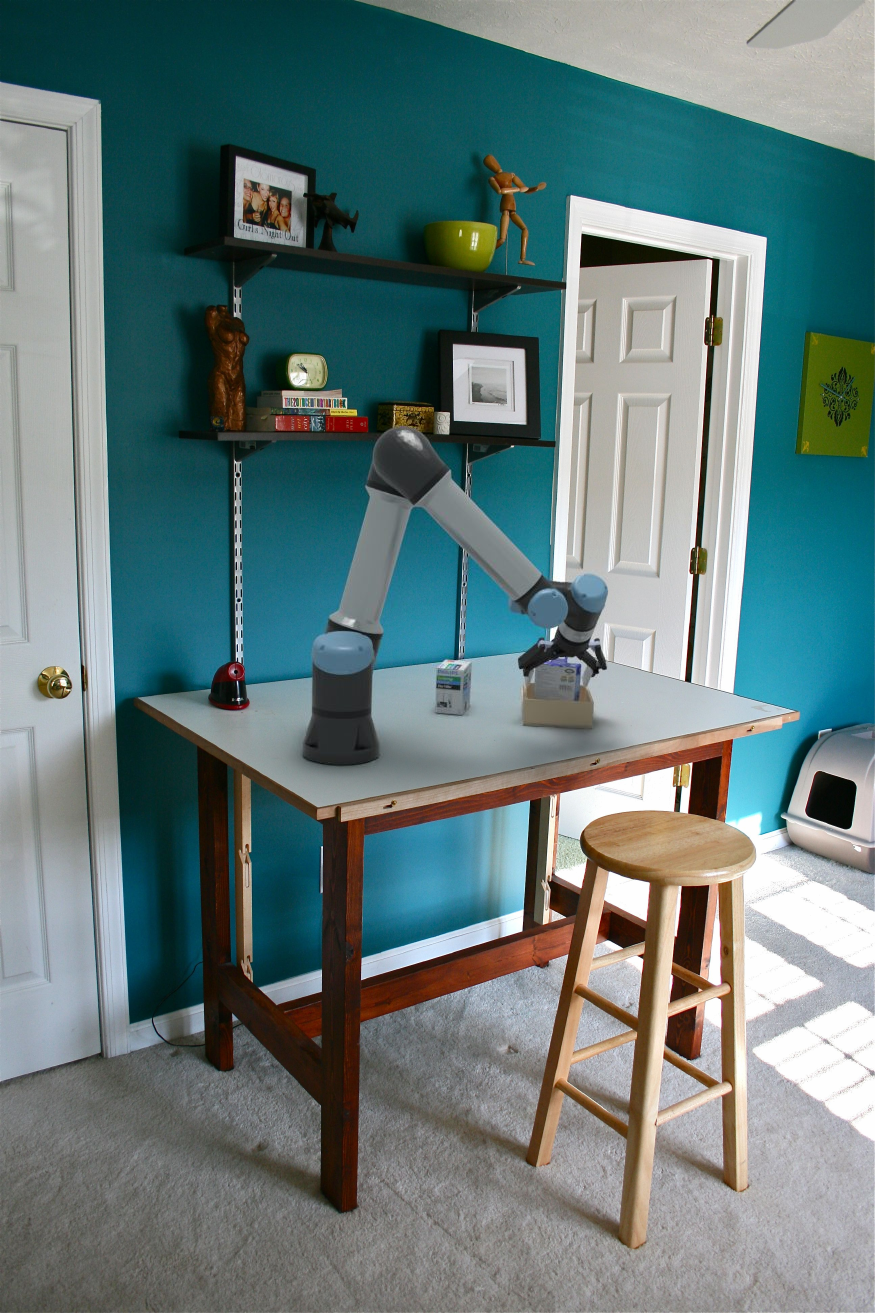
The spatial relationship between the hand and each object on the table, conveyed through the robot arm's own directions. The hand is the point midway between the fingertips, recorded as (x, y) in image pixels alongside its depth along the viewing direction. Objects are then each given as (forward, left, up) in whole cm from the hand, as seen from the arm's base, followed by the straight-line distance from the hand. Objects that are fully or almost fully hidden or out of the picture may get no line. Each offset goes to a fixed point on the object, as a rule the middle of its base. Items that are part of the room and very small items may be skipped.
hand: (555, 682), depth 229 cm
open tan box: (0, +9, -8) cm, 12 cm away
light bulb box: (-24, +1, -8) cm, 25 cm away
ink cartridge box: (0, -2, -7) cm, 8 cm away
